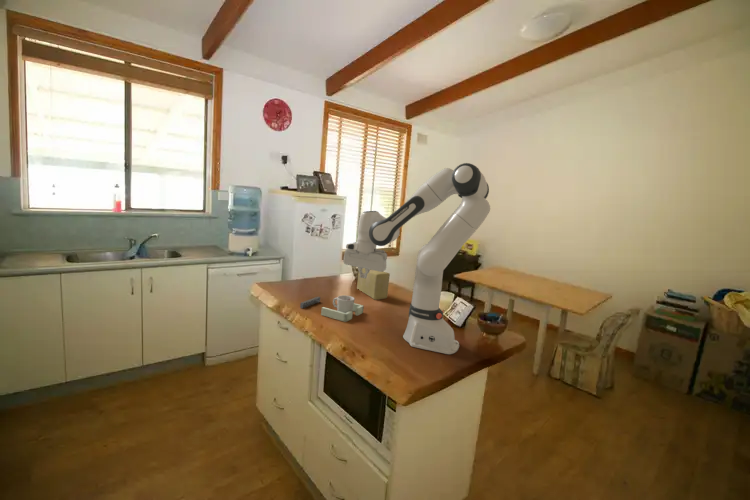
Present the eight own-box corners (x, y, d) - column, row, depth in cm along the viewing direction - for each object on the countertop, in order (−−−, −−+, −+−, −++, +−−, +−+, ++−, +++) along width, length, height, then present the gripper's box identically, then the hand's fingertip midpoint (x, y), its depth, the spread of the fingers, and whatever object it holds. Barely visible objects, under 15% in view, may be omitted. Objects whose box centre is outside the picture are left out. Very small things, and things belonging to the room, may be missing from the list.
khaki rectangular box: (350, 289, 205) (353, 264, 203) (363, 288, 211) (366, 264, 209) (374, 300, 188) (377, 273, 186) (387, 298, 194) (390, 272, 192)
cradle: (363, 312, 167) (363, 305, 166) (345, 322, 152) (346, 314, 151) (339, 306, 172) (340, 299, 171) (320, 314, 157) (321, 307, 157)
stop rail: (319, 301, 175) (320, 297, 175) (302, 308, 163) (303, 303, 163) (317, 301, 176) (317, 296, 176) (300, 307, 164) (300, 302, 163)
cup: (327, 312, 161) (328, 296, 160) (337, 308, 168) (338, 292, 167) (347, 318, 156) (348, 301, 155) (356, 314, 163) (357, 298, 162)
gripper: (390, 250, 152) (387, 281, 154) (350, 243, 160) (347, 272, 162) (384, 251, 146) (381, 283, 148) (343, 244, 155) (340, 274, 157)
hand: (363, 277), depth 155 cm, fingers closed
